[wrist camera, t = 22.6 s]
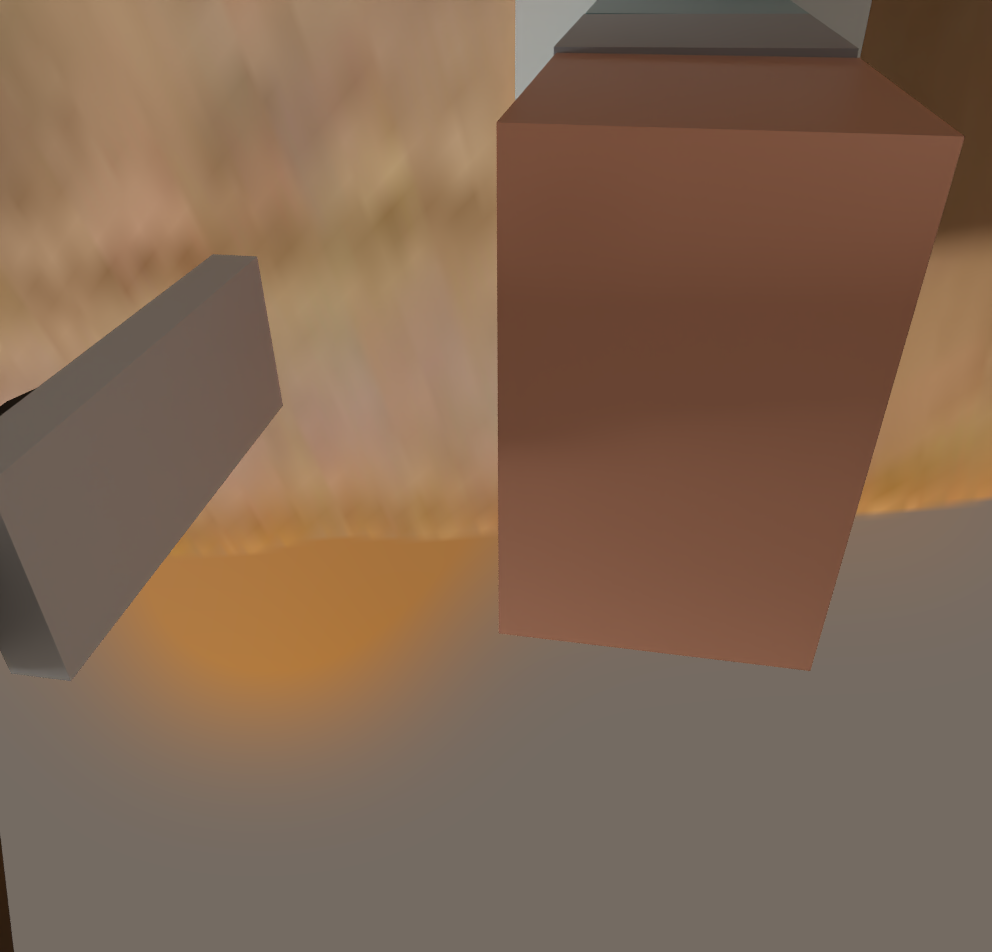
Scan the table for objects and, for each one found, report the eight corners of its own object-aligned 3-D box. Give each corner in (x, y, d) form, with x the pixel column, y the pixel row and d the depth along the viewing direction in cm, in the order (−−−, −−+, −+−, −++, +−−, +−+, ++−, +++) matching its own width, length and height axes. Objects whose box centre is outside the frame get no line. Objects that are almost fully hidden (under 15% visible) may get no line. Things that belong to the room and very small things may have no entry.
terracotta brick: (543, 446, 19) (498, 633, 14) (556, 52, 14) (496, 123, 10) (772, 466, 18) (809, 671, 13) (860, 58, 14) (964, 136, 9)
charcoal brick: (571, 334, 24) (545, 443, 19) (583, 14, 19) (554, 46, 14) (753, 344, 23) (775, 461, 18) (809, 13, 19) (859, 48, 14)
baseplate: (517, 307, 31) (514, 313, 30) (519, -89, 24) (515, -89, 23) (800, 323, 29) (802, 330, 29) (886, -94, 22) (891, -93, 22)
